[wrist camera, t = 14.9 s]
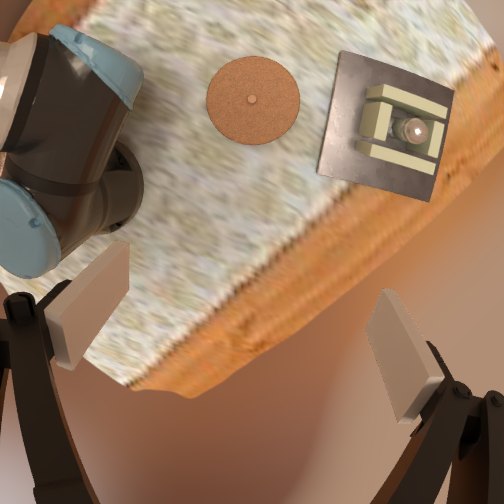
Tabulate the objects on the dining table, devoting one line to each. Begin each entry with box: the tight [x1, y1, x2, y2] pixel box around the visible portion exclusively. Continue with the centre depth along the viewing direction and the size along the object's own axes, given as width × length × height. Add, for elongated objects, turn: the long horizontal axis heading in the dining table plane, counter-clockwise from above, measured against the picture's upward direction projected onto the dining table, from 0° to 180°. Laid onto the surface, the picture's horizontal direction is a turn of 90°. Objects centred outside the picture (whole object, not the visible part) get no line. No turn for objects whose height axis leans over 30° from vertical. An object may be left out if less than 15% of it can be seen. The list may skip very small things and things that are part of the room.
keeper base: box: [316, 50, 454, 202], centre depth 36 cm, size 18×18×11 cm
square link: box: [355, 84, 448, 175], centre depth 36 cm, size 9×9×7 cm
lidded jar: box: [206, 56, 300, 145], centre depth 37 cm, size 11×11×9 cm
